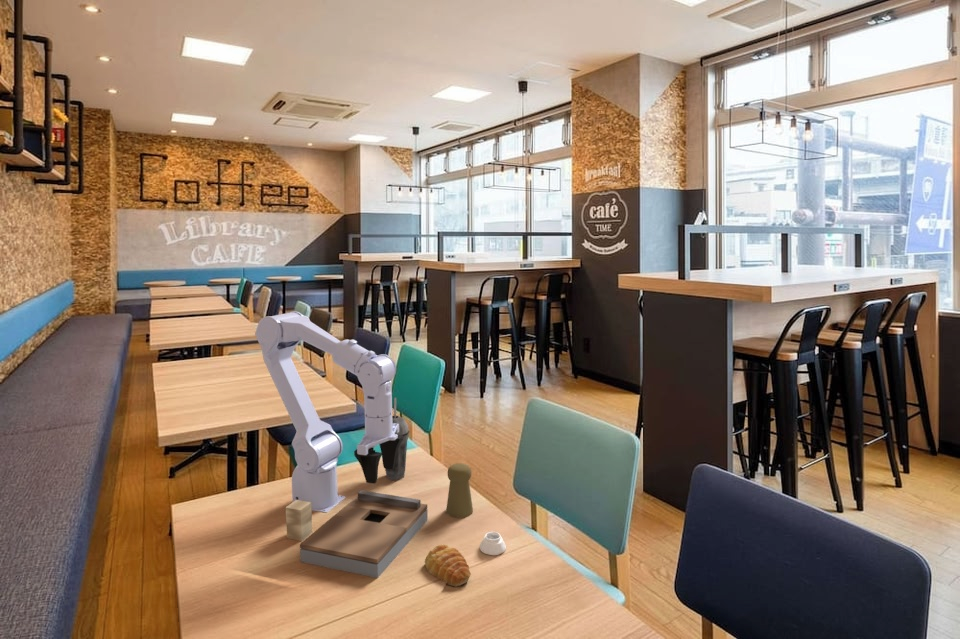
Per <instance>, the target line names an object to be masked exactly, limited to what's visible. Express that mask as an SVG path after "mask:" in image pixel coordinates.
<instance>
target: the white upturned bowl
mask: <svg viewBox="0 0 960 639" xmlns="http://www.w3.org/2000/svg"><path fill="white" fill-rule="evenodd" d="M506 548H507V546H506V543H505V541H504V539H503V537H502V536H501V533H499V532H497V531H489V532H486V533H485V534H484V537H483V538H482V540H481V542H480V545H479V550H480V551H481V552H482V553H483V554H485V555H490V556H496V555H501V554H503V553H504V552H505V551H506Z"/></svg>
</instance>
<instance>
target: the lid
mask: <svg viewBox="0 0 960 639" xmlns="http://www.w3.org/2000/svg"><path fill="white" fill-rule="evenodd" d="M421 501H422V500H421V499H419V498H418V499H417V498H412V497H405V496H400V495H393V494H387V493H380V492H376V491H375V492H374V491H368V490H363V489H362V490H360V491H359V492H357V496H356V497H354V498H353V499H352V500H351V501H350V502H348V503H347V504H346V505H345V506H344V507H342V508H341V509H340V510H339V511H338V512H336V513H335V514H334V515H332V517H331V518H329V519H328V520H327V521H326V522H325V523H323V524H322V525H321V526H320V527H319V528H317V529H316V530H315V531H314V532H312V533H311V534H310V535H309V536H308V537H306V538H305V539H304V540H303V541H301V542H300V543H299V549H301V548H302V549H307V550H312V551H317V552H322V553H327V554H332V555H337V556H342V557H347V558H352V559H357V560H362V561H367V562H372V563H376V564H378V563H379V562H380V560H381V559H382V558H383V557H384V556H385V555H386V554H387V553H388V552H389V550H390V549H391V548H392V547H393V546H394V545H395V544H396V543H397V542H398V540H399V539H400V538H401V537H402V536H403V535H404V534H405V533H406V532H407V530H408V529H409V528H410V527H411V526H412V525H413V524H414V523H415V522H416V520H417V519H418V518H419V517H420V516H421V515H422V514H423V513H424V511H425V510H426V509H427V510H428V504H427V503H426V504H425V503H422V502H421ZM370 513H374V514H379V515H385V516H387V517H386V518H385V519H384V520H382V521H381V522H380V523H377V522H371V521H366V520H364V519H365V518H366V517H367V516H368V515H369V514H370Z"/></svg>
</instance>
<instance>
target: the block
mask: <svg viewBox="0 0 960 639" xmlns="http://www.w3.org/2000/svg"><path fill="white" fill-rule="evenodd" d="M312 512H313V510H311V502H306V501H300V500H295V501H294V502H293V501H292V502H291V503H289V504H288V505H287V506H286V507H285V521H286V526H285V527H286V539H291V540H295V541H300V542H303V541H304V540H305V539H306V538H308V537H309V536H310V535H311V534H312V533H313V515H312V514H313V513H312Z"/></svg>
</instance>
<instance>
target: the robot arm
mask: <svg viewBox="0 0 960 639" xmlns="http://www.w3.org/2000/svg"><path fill="white" fill-rule="evenodd" d="M254 335H255V337H256V340H257V342H258V344H259V346H260V349H261V352H262V358H263V361H264V364H265V366H266V368H267V370H268V372H269V373H268V374H269V375H270V377H271V379H272V381H273V383H274V385H275V388H276V390H277V393H278V394H279V396H280V398H281V401H282V402H283V405H284V407H285V410H286V411H287V414H288V416H289V418H290V420H291V422H292V424H293V426H294V428H295V430H296V431H295V432H296V433H295V435H294V436H293V439H292V442H291V446H292V448H293V450H294V459H295V462H296V464H297V465H296V467H295V468H294V470H293V472H292V475H291V491H292V492H291V494H292V498H291V499H292V503H293V502H294V501H295V500H300V501H306V502H311V511H313V512H320V513H324V514H325V513H328V512H330V511H331V510H332V509H334V508H335V507H336V506H337V505H339V504H340V503H341V502H342V501H343V500H344V499H345V500H346V496H345V495H340V494H339V495H338V474H337V473H338V472H337V468H338V465H337V463H338V462H339V458H338V457H340V455H341V454H342V452H343V446H344V445H343V441H342V439H341V437H340V436H339V435H338V434H337V433H336V432H335V431H334V429H333V427H332V425H331V424H329V423H328V422H326V421H323V420H321V419H320V417H319V415H318V413H317V411H316V408H315V407H314V405H313V402H312V400H311V397H310V396H309V393H308V392H307V389H306V387H305V385H304V383H303V380H302V378H301V377H300V374H299V373H298V370H297V368H296V366H295V363H294V361H293V359H292V356H293V353H294V350H295V349H296V348H297V346H298V345H299V343H301V341H302V342H305V343H306V344H309V345H311V346H313V347H315V348H317V349H319V350H320V351H323V352H325V353H327V354H329V355H331V357H332V362H333V363H335V364H336V365H338V366H339V367H341V369H344V370H347V371H348V372H349V373H351V374H353V375H355V376H356V377H357V380H358V381H359V383H360V385H361V386H362V393H363V406H364V435H363V436H362V438H361V440H360V442H359V443H358V444H356V449H355V450H354V451H353V452H354V453H353V456H354V457H355V459H356V460H357V461H358V463H359V465H360V468H361V470H362V473H363V477H364V478H365V482H366V483H367V484H374V485H375V484H376V483H377V482H378V474H379V465H380V460H382V466H383V469H384V470H385V469H394V465H395V460H396V456H397V452H398V449H399V446H400V444H401V442H402V440H403V436H402V435H397V434H396V433H398V432H399V424H396V423H392V416H393V396H392V395H393V393H392V391H393V390H392V380H394V378H395V376H396V373H397V366H396V363H395V361H394V360H393V359H392V358H391V357H390V356H389V355H388V354H386V353H385V354H384V353H383V354H378V355H377V353H376V352H375V351H373V350H368V349H366V348H365V347H363V346H361V345H360V344H358V341H357V340H356V339H348V338H346V339H344V340H339V339H338V338H336V337H335V336H334V335H332V334H330V333H329V332H327V331H326V330H324V329H323V328H321V327H320V326H318V325H317V324H315V323H314V322H312V321H311V320H310V318H309V316H307V315H303V314H302V313H301V312H299V311H297V310H296V311H294V310H292V311H290V312H286V313H282V314H275V315H272V316H269V315H268V316H264V317H262V318H260V320H259V321H258V324H257V326H256V330H255V332H254ZM314 437H315V438H314ZM312 438H313V439H312ZM378 445H379V448H380V452H379V451H376V449H374V448H375V447H376V446H378ZM381 458H382V459H381Z"/></svg>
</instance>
